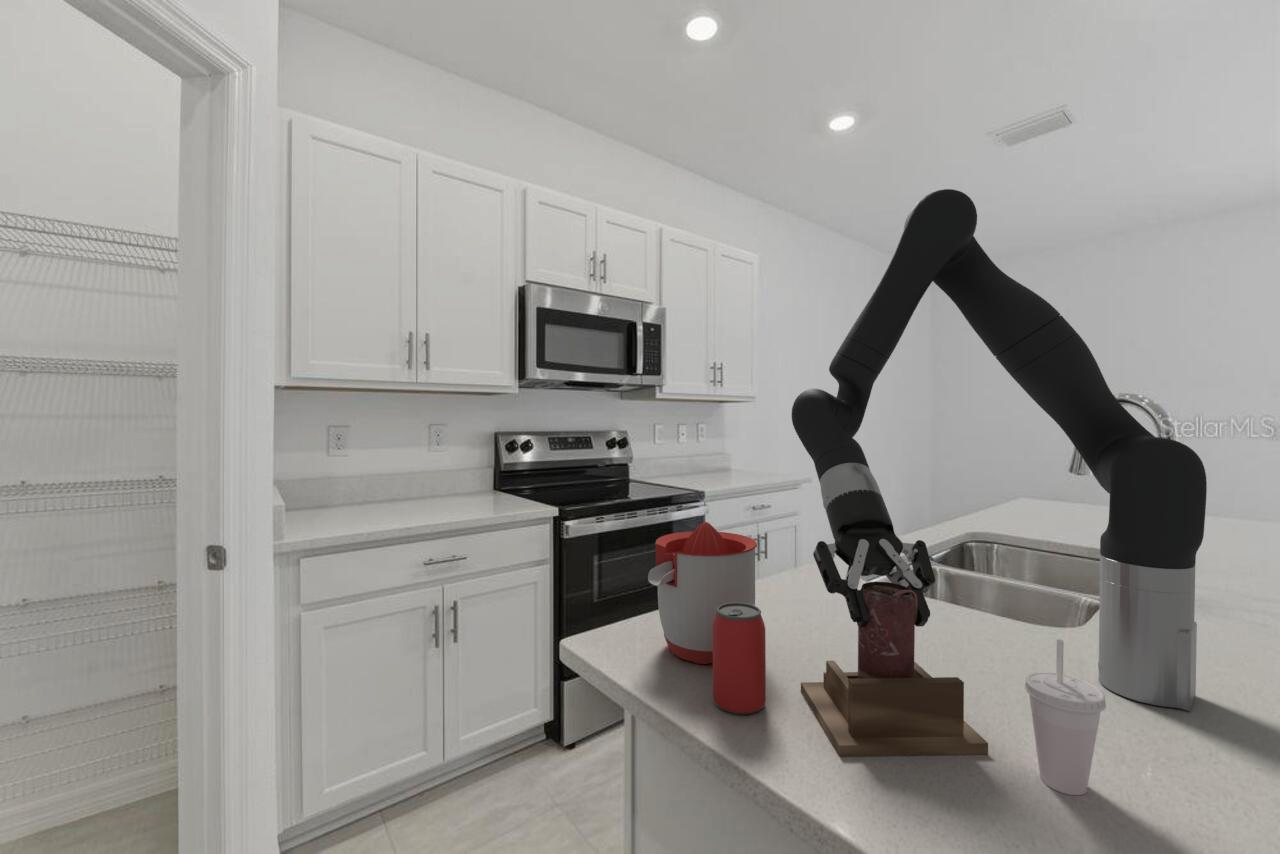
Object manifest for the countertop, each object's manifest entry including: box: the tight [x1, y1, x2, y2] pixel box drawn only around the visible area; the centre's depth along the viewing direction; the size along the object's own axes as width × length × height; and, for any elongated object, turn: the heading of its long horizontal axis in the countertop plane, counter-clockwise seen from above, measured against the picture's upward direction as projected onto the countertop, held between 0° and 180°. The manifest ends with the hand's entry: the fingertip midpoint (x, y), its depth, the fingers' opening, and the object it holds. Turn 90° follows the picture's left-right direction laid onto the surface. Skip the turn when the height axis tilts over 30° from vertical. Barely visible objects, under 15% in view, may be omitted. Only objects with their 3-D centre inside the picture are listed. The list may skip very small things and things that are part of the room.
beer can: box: [712, 602, 767, 715], centre depth 71 cm, size 7×7×12 cm
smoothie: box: [1024, 638, 1107, 796], centre depth 56 cm, size 6×6×14 cm
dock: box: [800, 660, 989, 757], centre depth 67 cm, size 14×16×7 cm
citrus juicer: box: [647, 521, 758, 665], centre depth 87 cm, size 16×17×20 cm
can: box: [857, 581, 918, 679], centre depth 67 cm, size 6×6×14 cm
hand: (893, 623), depth 65 cm, fingers closed on can, 6 cm apart
